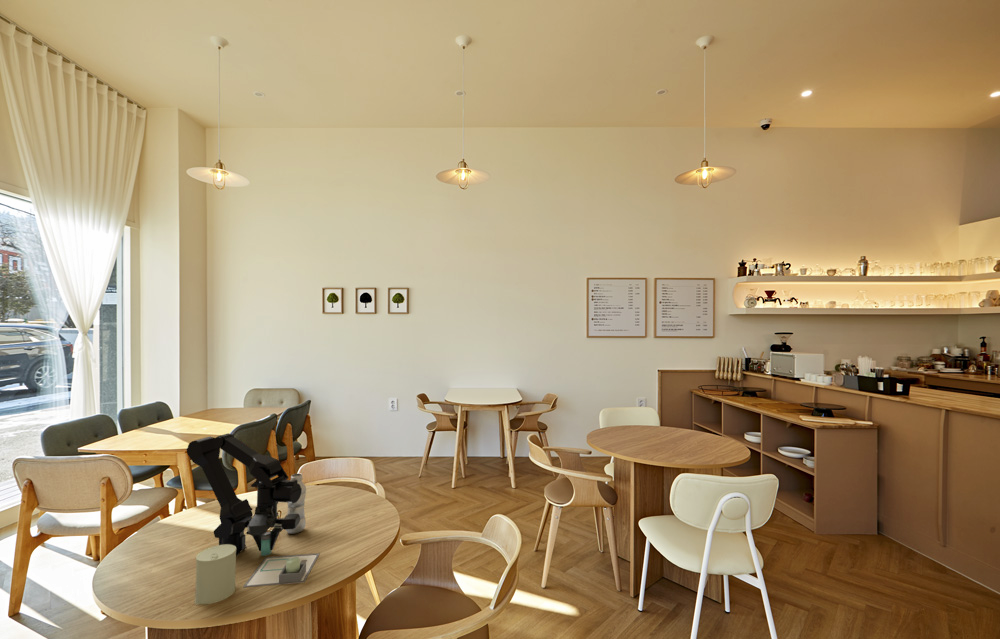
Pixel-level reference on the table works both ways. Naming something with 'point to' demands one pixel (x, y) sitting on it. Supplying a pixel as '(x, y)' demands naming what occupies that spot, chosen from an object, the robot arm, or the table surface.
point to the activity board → (281, 571)
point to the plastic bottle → (298, 506)
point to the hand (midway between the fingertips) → (266, 550)
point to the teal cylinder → (266, 544)
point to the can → (215, 574)
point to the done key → (293, 565)
